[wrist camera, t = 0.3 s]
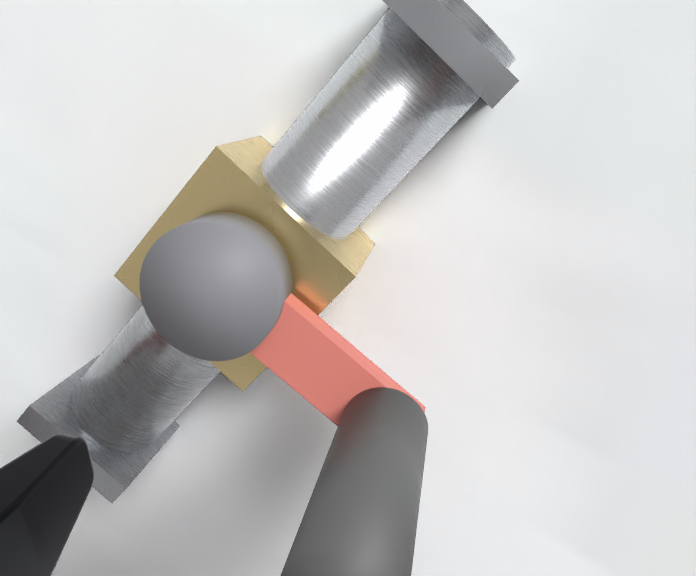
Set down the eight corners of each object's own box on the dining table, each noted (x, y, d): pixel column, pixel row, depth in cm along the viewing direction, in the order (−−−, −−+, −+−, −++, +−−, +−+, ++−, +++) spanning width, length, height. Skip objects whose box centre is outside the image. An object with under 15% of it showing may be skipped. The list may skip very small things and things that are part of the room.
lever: (141, 281, 21) (-48, 393, 14) (213, 183, 20) (48, 246, 12) (377, 478, 22) (326, 694, 14) (463, 397, 21) (460, 589, 13)
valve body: (170, 453, 29) (116, 520, 25) (72, 366, 29) (-2, 418, 24) (531, 83, 22) (548, 81, 17) (406, -43, 21) (389, -78, 17)
